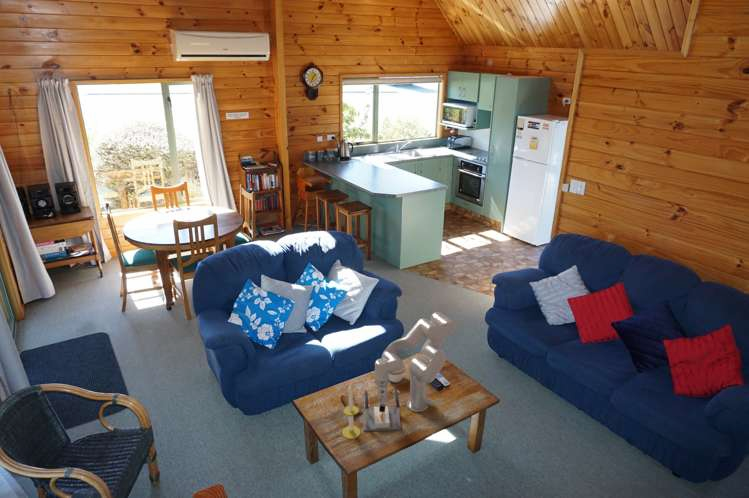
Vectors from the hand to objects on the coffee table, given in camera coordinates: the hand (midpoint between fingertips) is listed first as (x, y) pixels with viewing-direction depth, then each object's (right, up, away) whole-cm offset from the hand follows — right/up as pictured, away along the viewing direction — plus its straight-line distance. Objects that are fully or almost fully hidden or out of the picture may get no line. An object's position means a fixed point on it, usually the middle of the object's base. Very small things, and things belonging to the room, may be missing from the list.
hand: (381, 405), depth 285 cm
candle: (-17, -13, -5) cm, 22 cm away
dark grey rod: (-9, +3, -2) cm, 9 cm away
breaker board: (0, -10, +4) cm, 10 cm away
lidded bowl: (+9, +5, +40) cm, 41 cm away
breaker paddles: (0, -6, +2) cm, 6 cm away
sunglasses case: (-17, -6, +15) cm, 24 cm away
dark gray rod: (+8, +4, -1) cm, 9 cm away
